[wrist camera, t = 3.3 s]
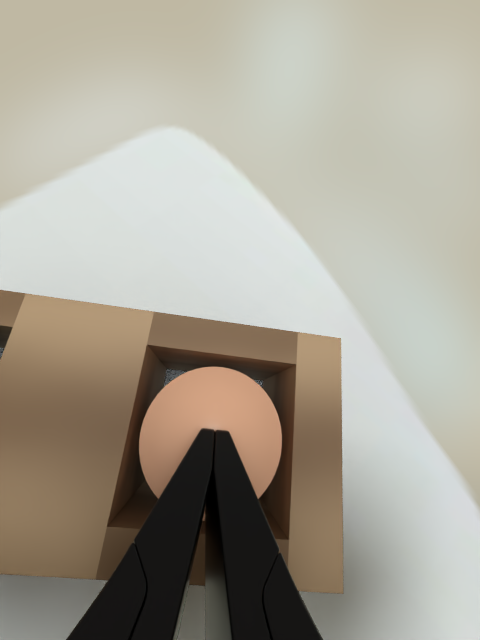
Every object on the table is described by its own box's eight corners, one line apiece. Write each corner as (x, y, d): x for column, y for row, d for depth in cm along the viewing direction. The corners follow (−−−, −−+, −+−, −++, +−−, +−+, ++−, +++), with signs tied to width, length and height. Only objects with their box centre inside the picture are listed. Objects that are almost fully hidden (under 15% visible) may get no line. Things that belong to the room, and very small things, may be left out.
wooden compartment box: (286, 520, 14) (343, 593, 8) (-130, 486, 12) (-408, 550, 7) (293, 362, 17) (340, 338, 11) (-51, 317, 15) (-204, 261, 9)
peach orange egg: (249, 484, 13) (277, 526, 8) (152, 475, 12) (123, 514, 8) (258, 386, 14) (285, 375, 10) (170, 376, 14) (155, 358, 9)
